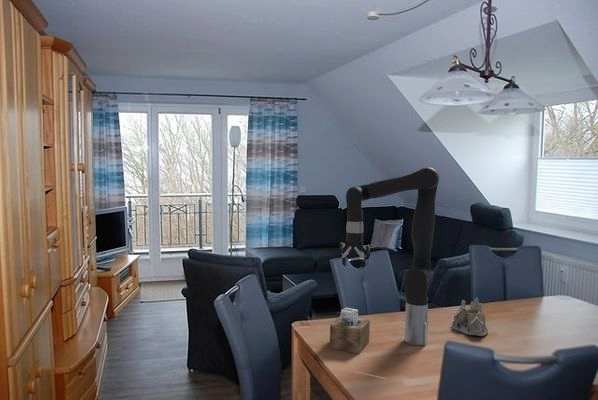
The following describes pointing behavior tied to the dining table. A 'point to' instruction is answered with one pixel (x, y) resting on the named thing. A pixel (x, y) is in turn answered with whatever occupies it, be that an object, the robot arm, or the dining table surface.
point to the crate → (349, 335)
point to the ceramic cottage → (470, 319)
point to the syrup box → (349, 316)
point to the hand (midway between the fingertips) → (353, 266)
